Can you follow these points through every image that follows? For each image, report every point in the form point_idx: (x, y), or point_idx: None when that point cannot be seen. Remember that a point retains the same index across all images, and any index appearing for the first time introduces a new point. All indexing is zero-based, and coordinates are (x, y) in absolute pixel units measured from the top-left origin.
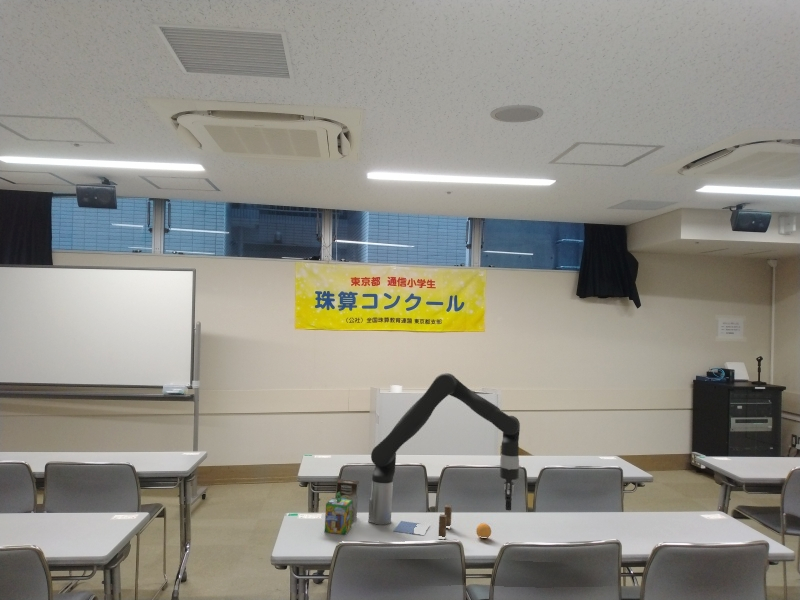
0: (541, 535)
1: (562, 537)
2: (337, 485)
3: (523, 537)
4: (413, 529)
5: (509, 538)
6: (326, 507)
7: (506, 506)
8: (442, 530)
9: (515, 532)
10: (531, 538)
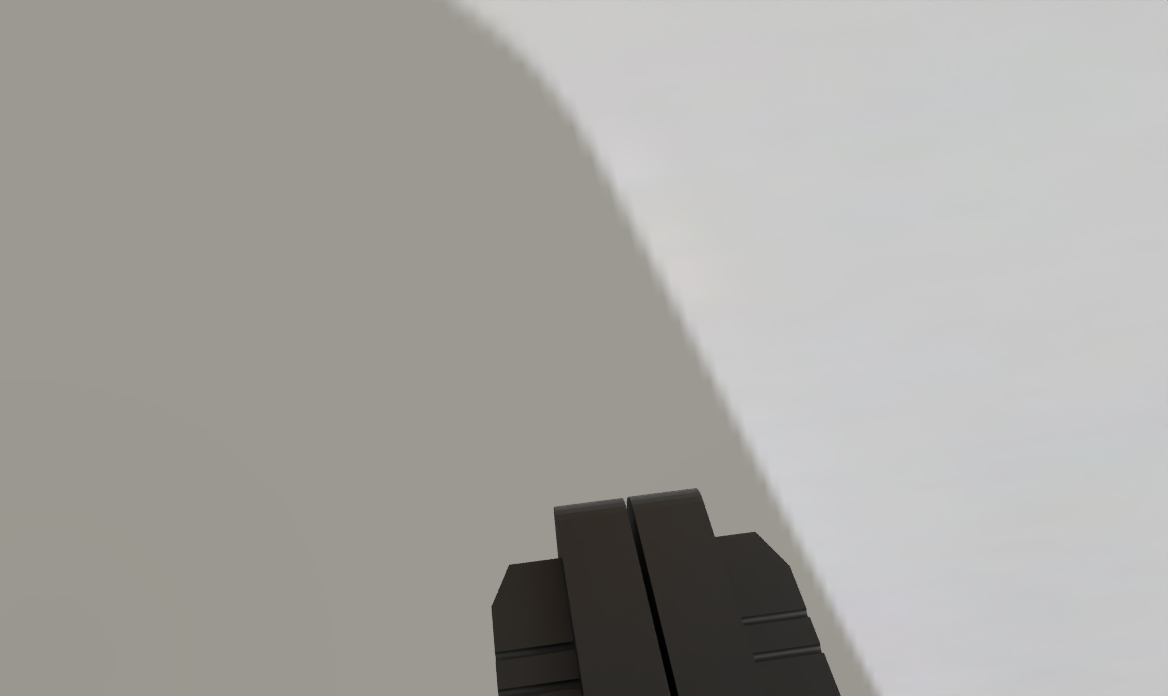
0: (1047, 504)
1: (1031, 690)
2: None
3: (886, 310)
4: None
5: (751, 106)
6: None
7: (567, 616)
8: None
9: (1104, 159)
10: (879, 414)
